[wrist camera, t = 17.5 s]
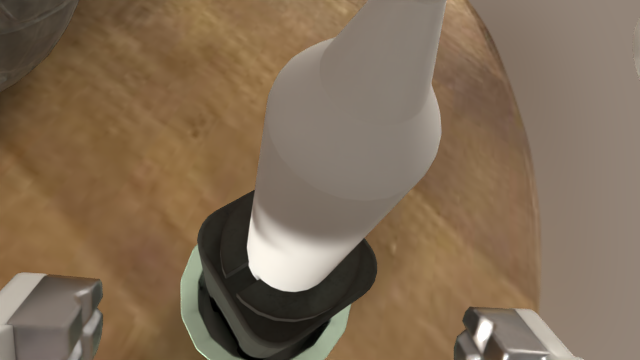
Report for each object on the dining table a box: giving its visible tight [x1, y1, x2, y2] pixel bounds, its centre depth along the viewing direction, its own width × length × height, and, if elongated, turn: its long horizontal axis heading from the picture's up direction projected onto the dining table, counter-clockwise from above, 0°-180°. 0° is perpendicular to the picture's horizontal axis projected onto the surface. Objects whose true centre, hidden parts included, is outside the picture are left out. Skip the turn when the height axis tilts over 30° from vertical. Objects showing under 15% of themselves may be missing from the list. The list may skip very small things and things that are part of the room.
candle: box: [197, 0, 447, 360], centre depth 16 cm, size 5×5×25 cm
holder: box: [181, 244, 351, 360], centre depth 25 cm, size 8×8×6 cm
